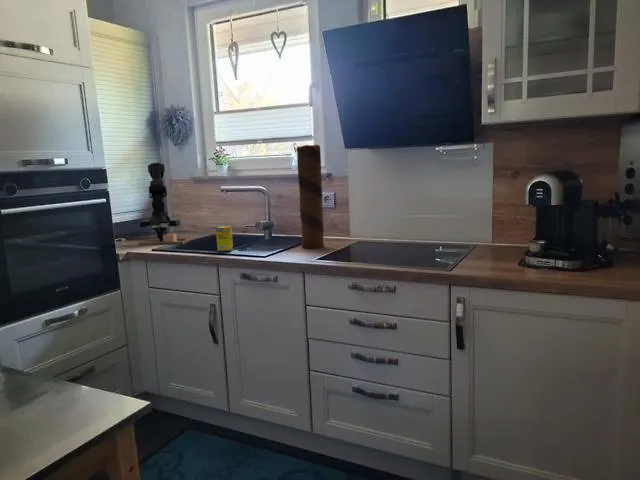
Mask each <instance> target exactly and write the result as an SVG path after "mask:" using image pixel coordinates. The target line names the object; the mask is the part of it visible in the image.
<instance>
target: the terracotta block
mask: <svg viewBox="0 0 640 480" xmlns="http://www.w3.org/2000/svg"><path fill="white" fill-rule="evenodd" d="M177 239H178V237H177V233H168V234H166V235H163V242H177Z"/></svg>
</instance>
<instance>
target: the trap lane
mask: <svg viewBox="0 0 640 480" xmlns="http://www.w3.org/2000/svg"><path fill="white" fill-rule="evenodd" d="M190 240H191V239H190V238H189V237H188V238H186V237H185V238H177V242H163V241H160V239H159V238H156V239H154V238H153V239H145V242H137V245H138V247H139V246H163V245H164V246H165V245H167V246H169V245H182V247H185V246H186V245H188V244H189V243H191V241H190Z"/></svg>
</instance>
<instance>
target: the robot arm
mask: <svg viewBox="0 0 640 480" xmlns="http://www.w3.org/2000/svg"><path fill="white" fill-rule="evenodd" d="M147 172H148V174H149V176H150V178H151V181H150V182H149V186H148V197H149V199H152V200H151V207H152V211H151V216H150V217H149V218H148V220H145V219H144V220H141V221H140V222H139V228H146V227H148V226H149V227H151V229H152V230H154V231H155V233H156V239H160V241H163V235H166V234H169V233H168V232H169V231H168V228H170V227H178V226H180V225H181V224H182V223H181V220H180V219H171V218H170V216H169V215H168V212H167V211H166V205H165V198H167V196H168V191H167V190H168V189H167V186H166V185H165V184H164V181H163V178H164V176H165V172H166V170H165V164H162V163H160V162H152V163H150V164H148V165H147Z"/></svg>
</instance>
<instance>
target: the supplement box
mask: <svg viewBox="0 0 640 480" xmlns="http://www.w3.org/2000/svg"><path fill="white" fill-rule="evenodd" d="M215 231H216V232H215V233H216V234H215V235H216V244H217V245H216V246H217V247H216V248H217V253H231V252H232V251H234V243H233V242H234V241H233V229H232V226H231V225H227V226H223V225H221V226H218V227H216V228H215Z"/></svg>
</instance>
